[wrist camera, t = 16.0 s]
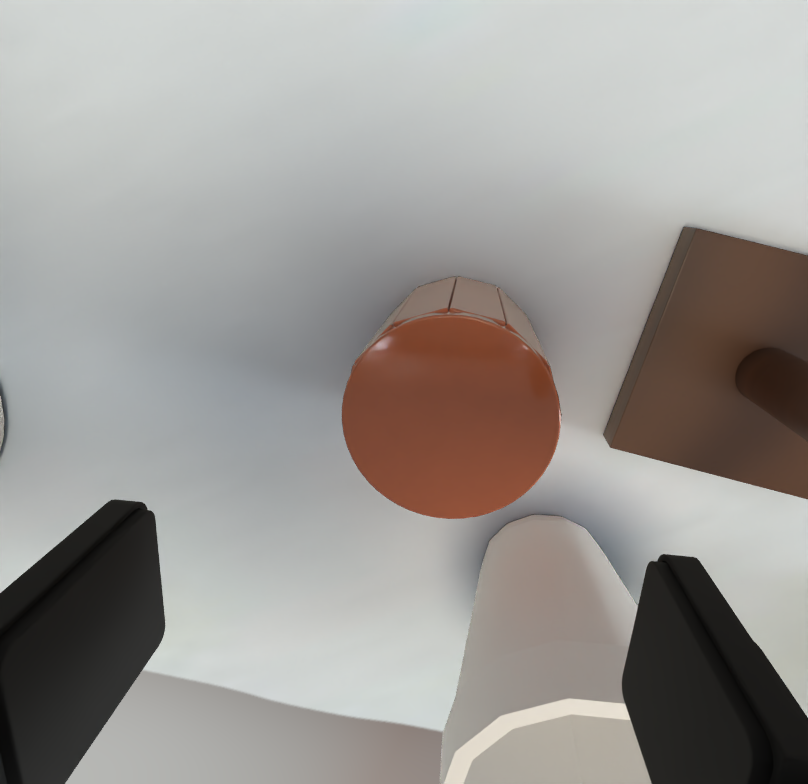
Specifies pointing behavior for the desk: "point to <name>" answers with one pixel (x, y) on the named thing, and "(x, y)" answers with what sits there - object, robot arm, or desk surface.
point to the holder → (723, 366)
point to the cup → (452, 402)
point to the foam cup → (544, 665)
